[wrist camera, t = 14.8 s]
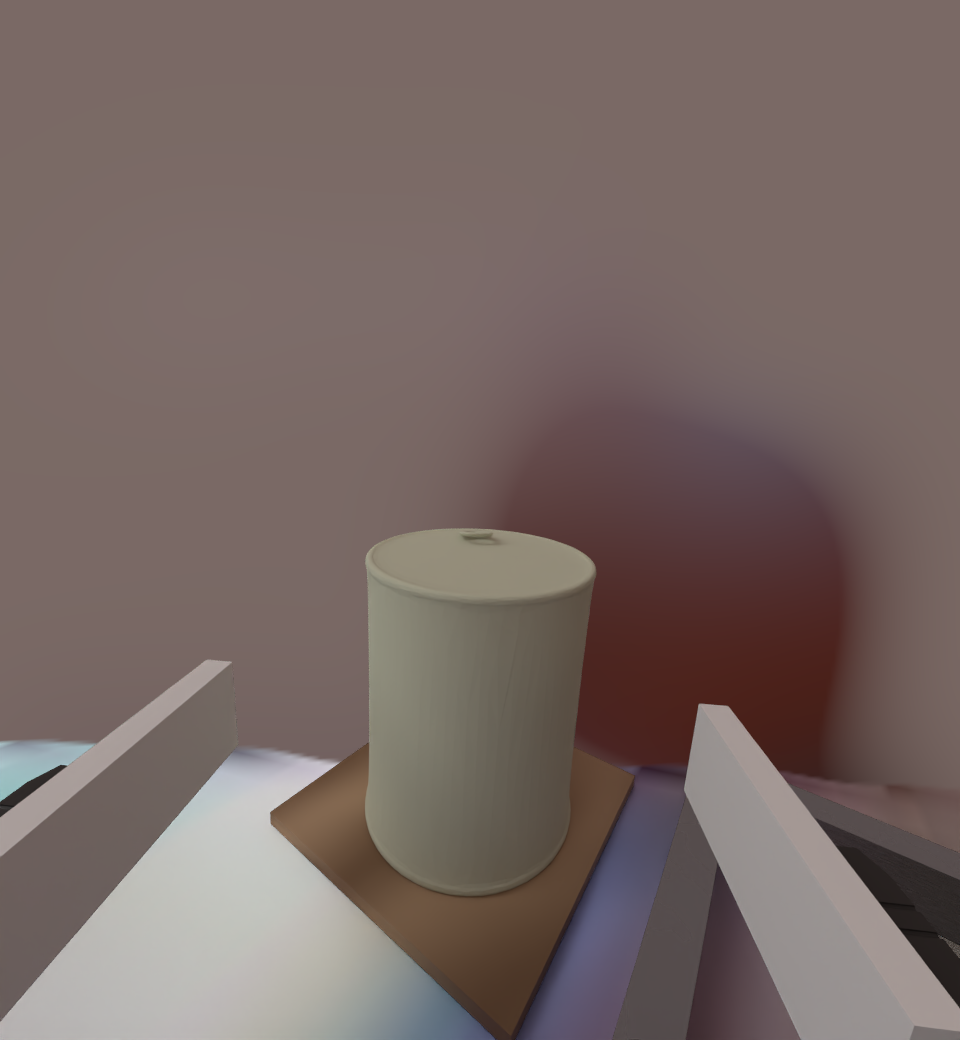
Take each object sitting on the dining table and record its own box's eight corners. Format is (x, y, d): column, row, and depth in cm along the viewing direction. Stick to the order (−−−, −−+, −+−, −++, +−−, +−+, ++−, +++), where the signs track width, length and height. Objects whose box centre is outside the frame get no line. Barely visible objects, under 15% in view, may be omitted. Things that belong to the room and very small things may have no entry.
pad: (270, 823, 19) (270, 812, 19) (446, 695, 29) (447, 686, 29) (509, 1051, 13) (511, 1036, 12) (633, 785, 22) (634, 775, 22)
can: (537, 723, 26) (555, 520, 23) (605, 883, 17) (646, 582, 14) (373, 732, 24) (373, 516, 22) (352, 914, 15) (348, 584, 13)
